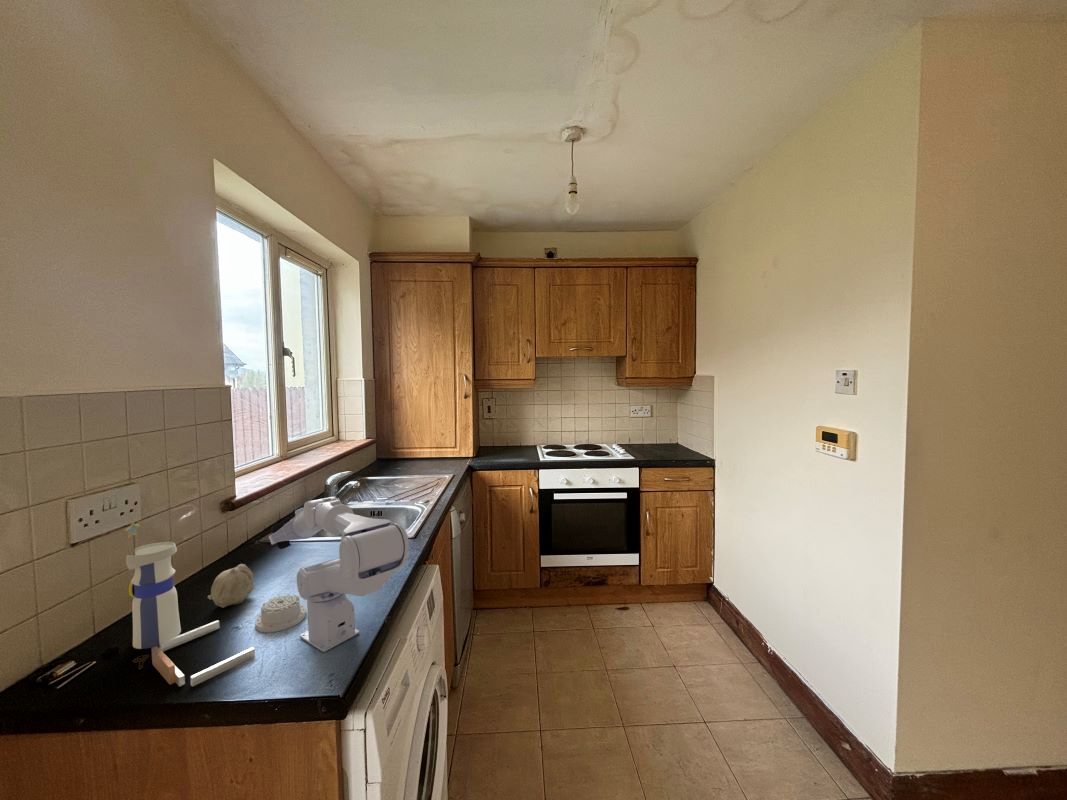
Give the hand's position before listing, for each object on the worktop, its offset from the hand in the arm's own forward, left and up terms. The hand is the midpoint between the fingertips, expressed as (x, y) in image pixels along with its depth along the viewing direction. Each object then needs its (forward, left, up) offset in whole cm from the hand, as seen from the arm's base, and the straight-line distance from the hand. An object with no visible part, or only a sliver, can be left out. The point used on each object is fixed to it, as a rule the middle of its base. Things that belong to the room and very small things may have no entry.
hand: (296, 531), depth 105 cm
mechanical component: (-6, +7, -18) cm, 20 cm away
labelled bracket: (-6, +22, -17) cm, 29 cm away
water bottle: (+9, +25, -17) cm, 32 cm away
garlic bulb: (+12, +10, -17) cm, 23 cm away
